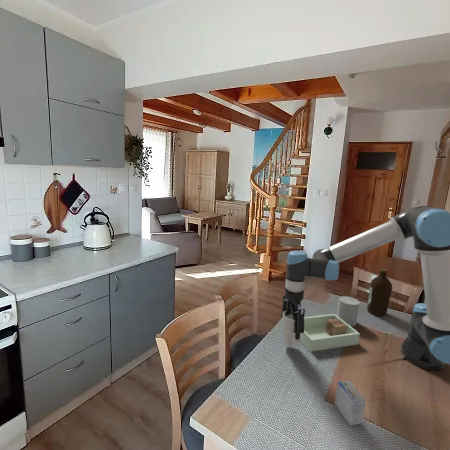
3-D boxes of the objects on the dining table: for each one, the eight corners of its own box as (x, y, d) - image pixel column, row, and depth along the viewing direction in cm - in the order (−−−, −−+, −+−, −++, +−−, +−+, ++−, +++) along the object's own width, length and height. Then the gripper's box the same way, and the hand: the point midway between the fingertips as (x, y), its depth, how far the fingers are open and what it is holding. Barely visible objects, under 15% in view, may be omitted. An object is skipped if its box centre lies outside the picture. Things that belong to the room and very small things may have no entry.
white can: (358, 329, 134) (362, 306, 132) (337, 326, 136) (341, 303, 133) (353, 319, 143) (356, 297, 141) (334, 316, 145) (337, 294, 143)
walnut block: (344, 337, 125) (346, 325, 124) (333, 339, 123) (335, 327, 122) (336, 330, 131) (337, 318, 130) (325, 331, 129) (326, 320, 128)
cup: (301, 338, 118) (304, 312, 116) (298, 348, 111) (300, 321, 109) (283, 333, 122) (285, 308, 119) (278, 343, 115) (280, 316, 112)
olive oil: (387, 311, 154) (395, 268, 149) (387, 319, 145) (395, 274, 140) (366, 305, 159) (373, 264, 154) (365, 313, 150) (372, 269, 145)
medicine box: (362, 424, 83) (366, 399, 81) (349, 426, 82) (353, 401, 80) (345, 402, 90) (349, 379, 88) (333, 404, 89) (337, 381, 87)
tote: (357, 345, 121) (359, 333, 120) (310, 353, 114) (311, 340, 113) (333, 324, 137) (334, 313, 136) (289, 330, 130) (291, 318, 129)
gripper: (317, 298, 104) (312, 353, 108) (290, 278, 123) (286, 325, 127) (299, 300, 102) (295, 356, 106) (275, 280, 121) (272, 327, 125)
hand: (290, 339), depth 116 cm, fingers closed on cup, 7 cm apart
